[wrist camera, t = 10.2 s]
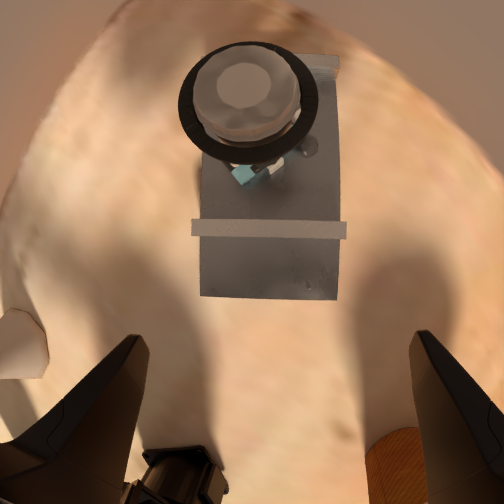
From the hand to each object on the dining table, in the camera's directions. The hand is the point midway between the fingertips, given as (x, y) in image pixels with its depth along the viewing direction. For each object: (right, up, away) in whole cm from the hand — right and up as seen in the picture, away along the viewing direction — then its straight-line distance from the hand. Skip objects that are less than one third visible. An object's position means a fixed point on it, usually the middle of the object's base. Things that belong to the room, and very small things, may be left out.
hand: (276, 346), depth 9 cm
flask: (-23, -6, +15) cm, 28 cm away
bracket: (+1, +8, +11) cm, 14 cm away
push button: (0, +10, +10) cm, 14 cm away
